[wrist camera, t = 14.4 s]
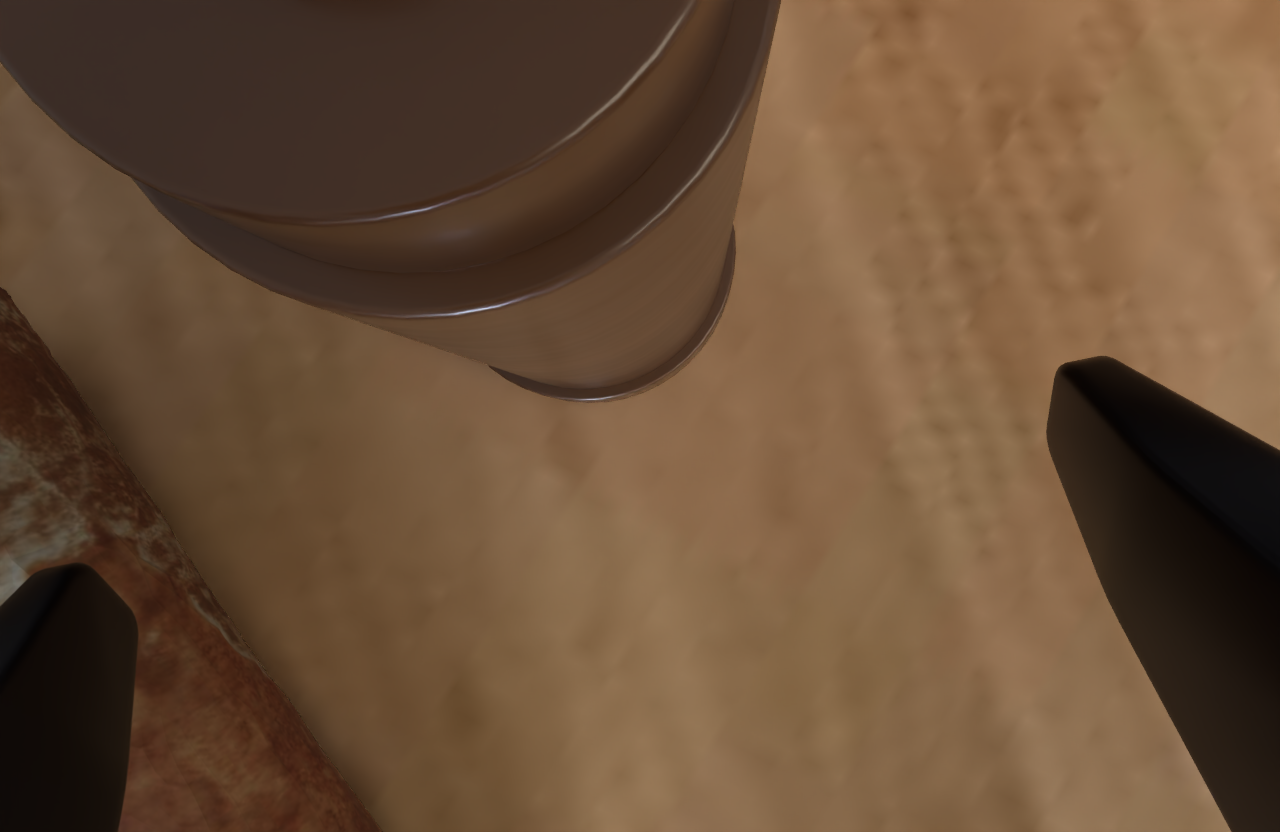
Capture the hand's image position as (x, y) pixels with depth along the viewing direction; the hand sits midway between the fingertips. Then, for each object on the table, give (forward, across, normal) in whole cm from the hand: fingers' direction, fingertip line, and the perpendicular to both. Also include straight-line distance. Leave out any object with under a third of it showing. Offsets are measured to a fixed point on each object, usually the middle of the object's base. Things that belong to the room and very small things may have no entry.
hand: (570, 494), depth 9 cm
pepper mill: (+10, 0, +4) cm, 10 cm away
